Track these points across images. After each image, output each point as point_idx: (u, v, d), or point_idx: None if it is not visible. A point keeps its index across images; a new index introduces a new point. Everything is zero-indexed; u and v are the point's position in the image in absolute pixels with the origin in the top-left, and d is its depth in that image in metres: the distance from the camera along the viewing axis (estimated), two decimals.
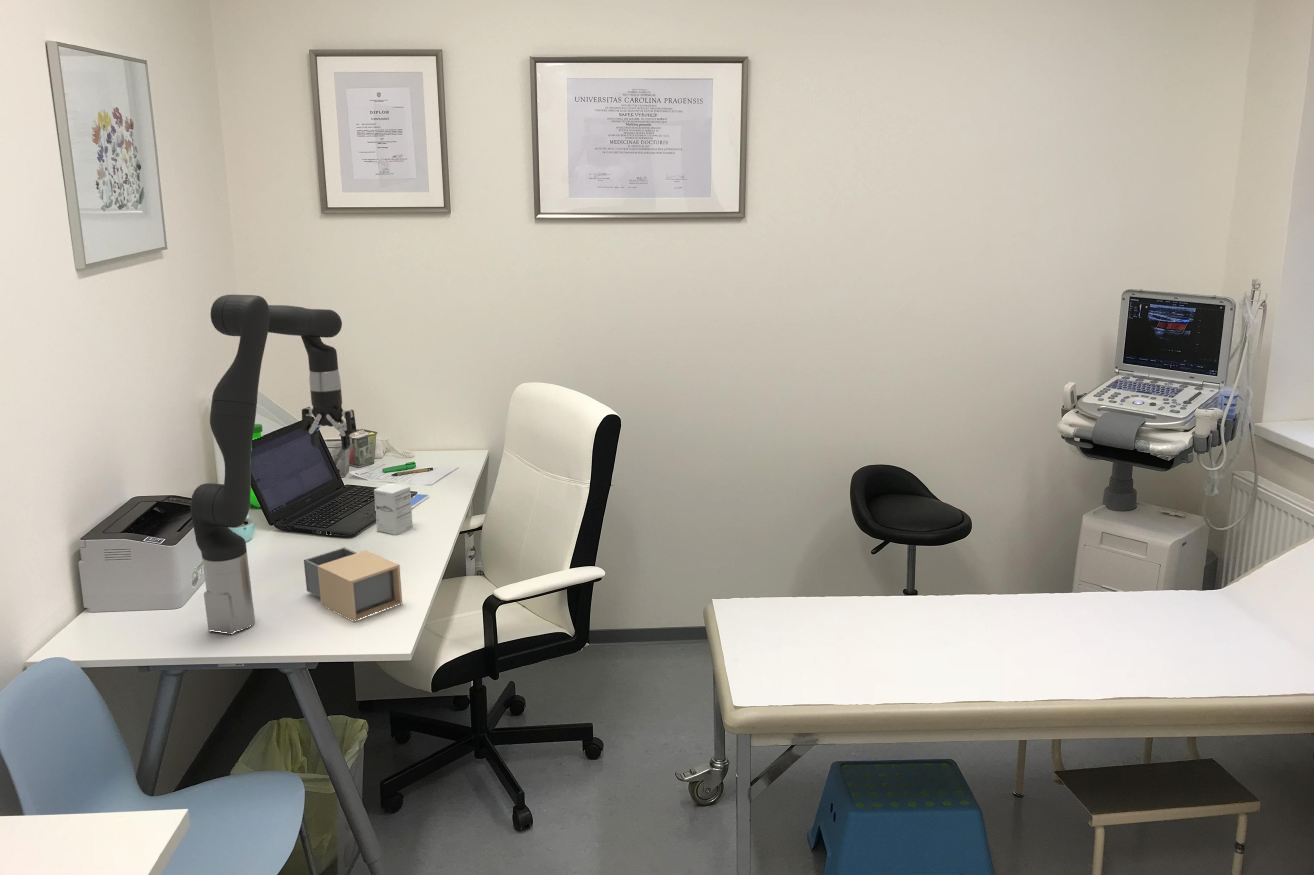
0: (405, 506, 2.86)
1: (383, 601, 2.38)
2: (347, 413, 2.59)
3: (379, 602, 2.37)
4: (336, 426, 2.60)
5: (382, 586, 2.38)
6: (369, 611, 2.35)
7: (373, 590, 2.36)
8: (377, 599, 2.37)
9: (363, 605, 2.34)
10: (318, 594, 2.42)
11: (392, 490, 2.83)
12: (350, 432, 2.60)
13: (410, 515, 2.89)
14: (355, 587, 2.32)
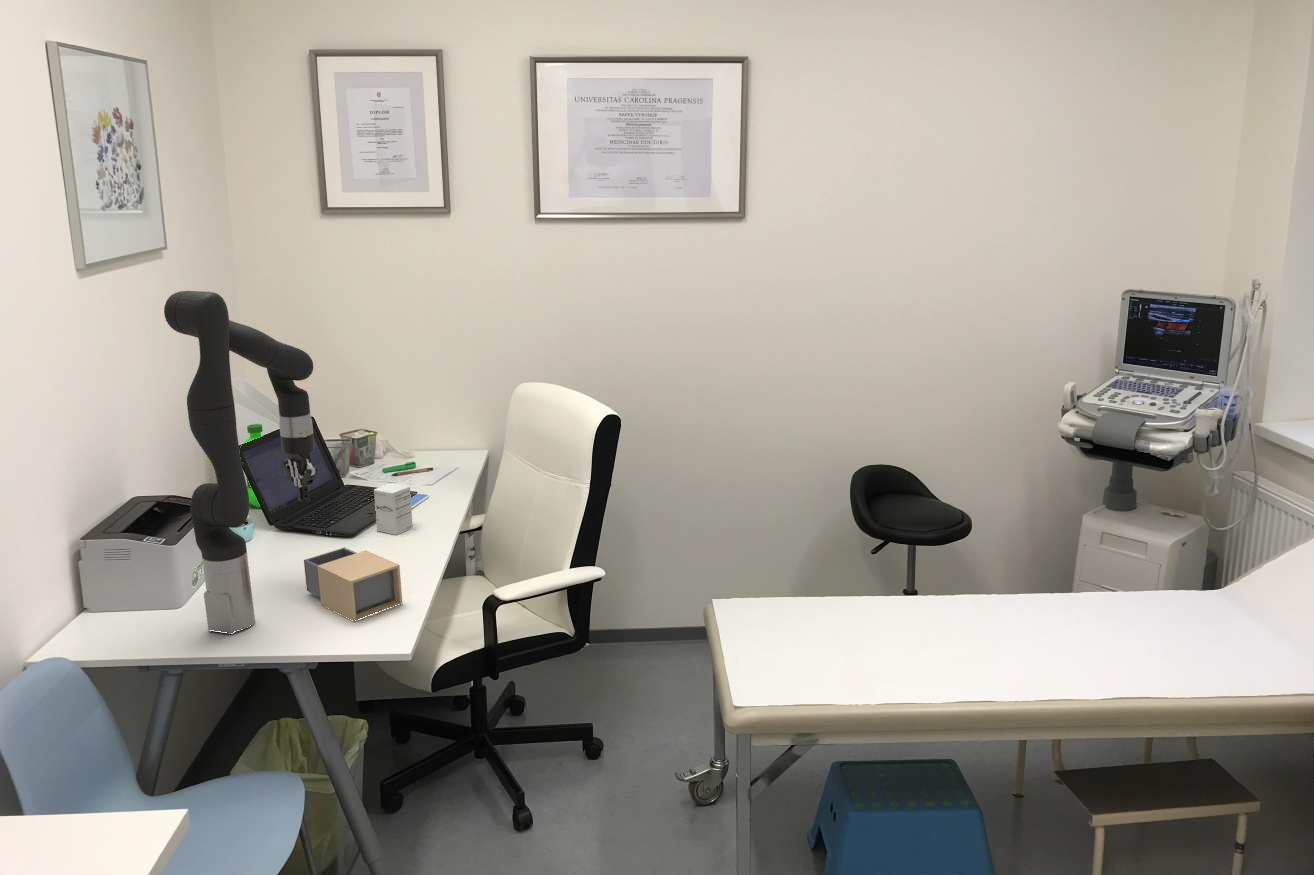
0: (405, 506, 2.86)
1: (383, 601, 2.38)
2: (308, 472, 2.42)
3: (379, 602, 2.37)
4: (296, 476, 2.45)
5: (382, 586, 2.38)
6: (369, 611, 2.35)
7: (373, 590, 2.36)
8: (377, 599, 2.37)
9: (363, 605, 2.34)
10: (318, 594, 2.42)
11: (392, 490, 2.83)
12: (303, 484, 2.45)
13: (410, 515, 2.89)
14: (355, 587, 2.32)
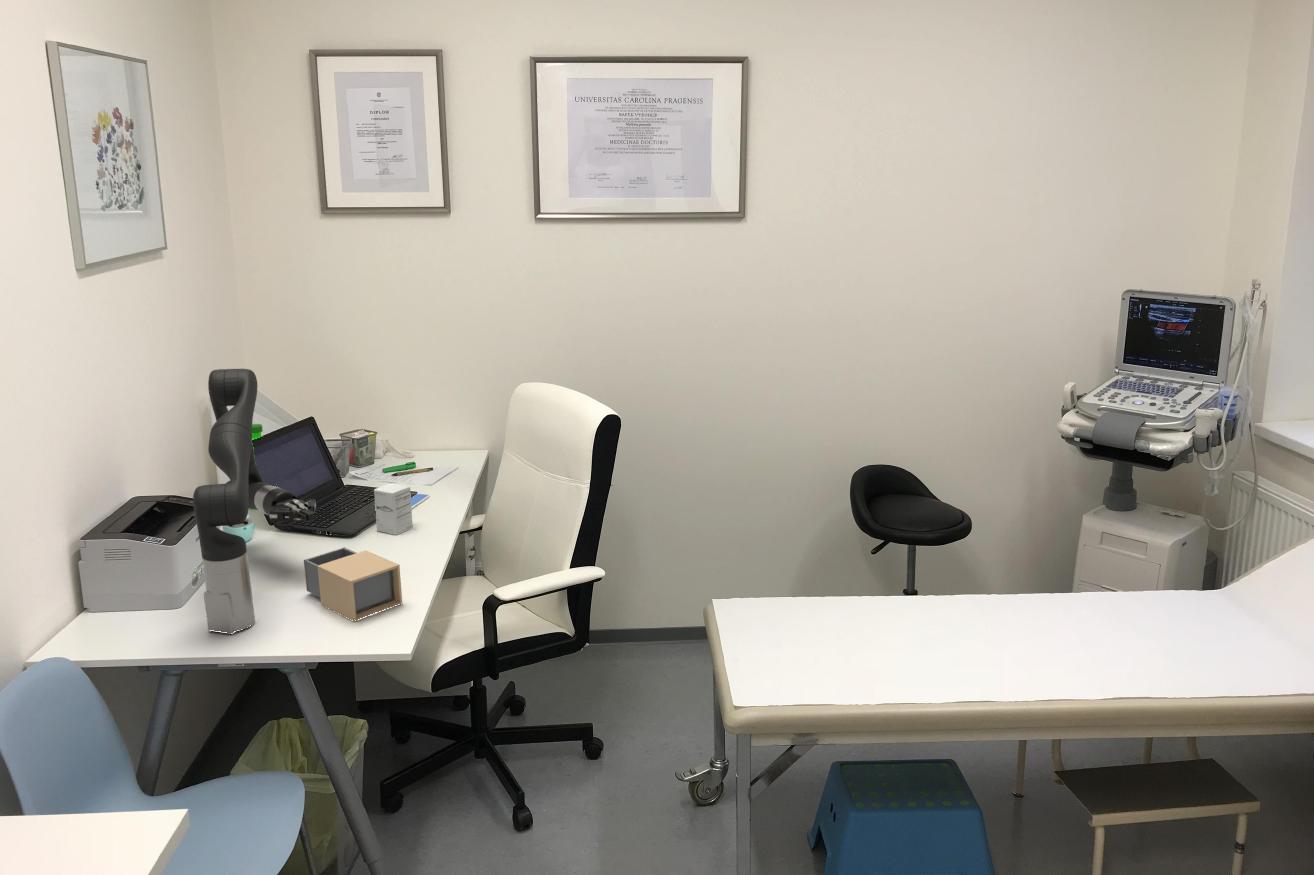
0: (405, 506, 2.86)
1: (383, 601, 2.38)
2: (313, 499, 2.57)
3: (379, 602, 2.37)
4: (299, 504, 2.53)
5: (382, 586, 2.38)
6: (369, 611, 2.35)
7: (373, 590, 2.36)
8: (377, 599, 2.37)
9: (363, 605, 2.34)
10: (318, 594, 2.42)
11: (392, 490, 2.83)
12: (311, 505, 2.53)
13: (410, 515, 2.89)
14: (355, 587, 2.32)
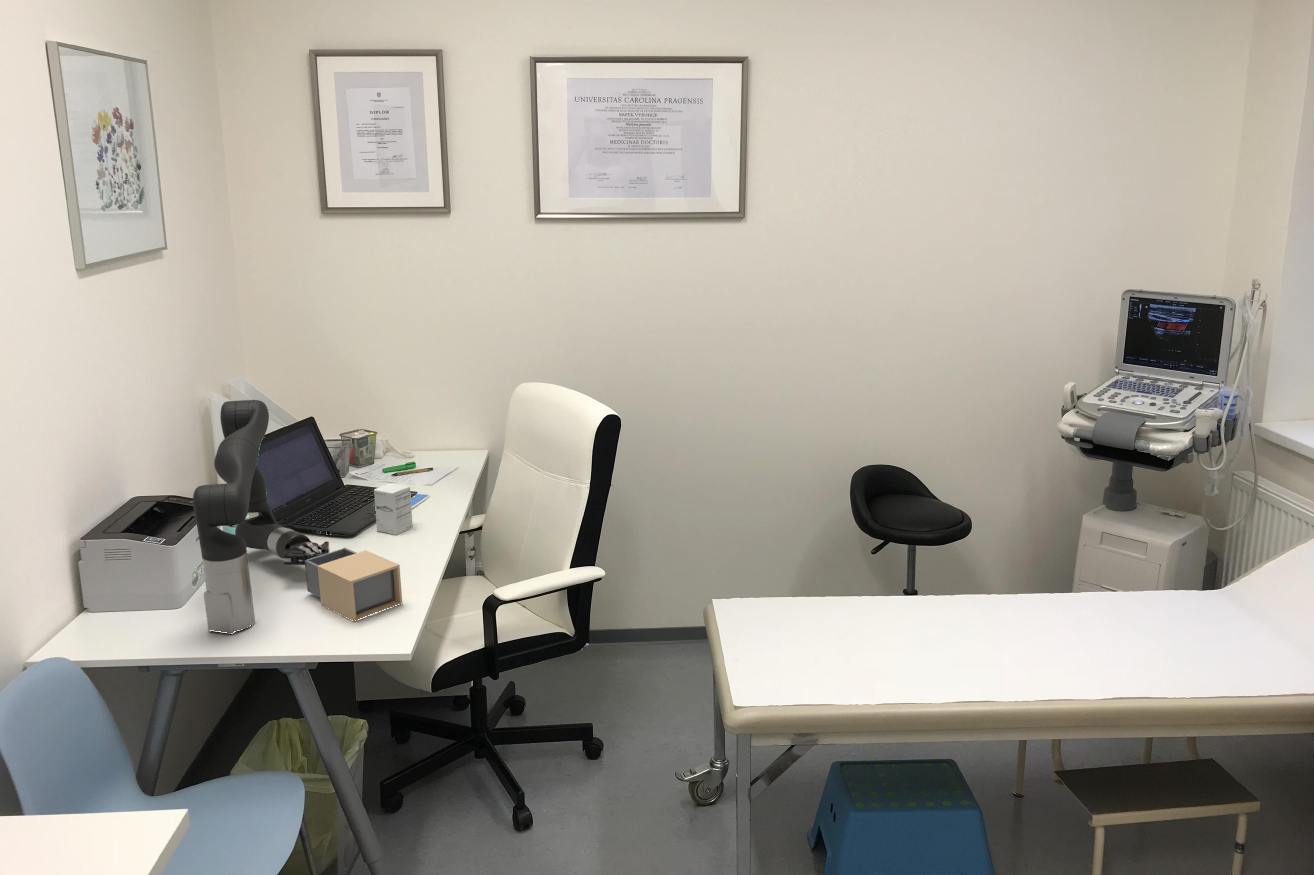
0: (405, 506, 2.86)
1: (384, 601, 2.38)
2: (327, 541, 2.57)
3: (379, 602, 2.37)
4: (313, 547, 2.52)
5: (383, 586, 2.37)
6: (369, 611, 2.35)
7: (374, 590, 2.35)
8: (378, 599, 2.37)
9: (364, 605, 2.34)
10: (319, 594, 2.42)
11: (392, 490, 2.83)
12: (325, 548, 2.52)
13: (410, 515, 2.89)
14: (356, 587, 2.32)
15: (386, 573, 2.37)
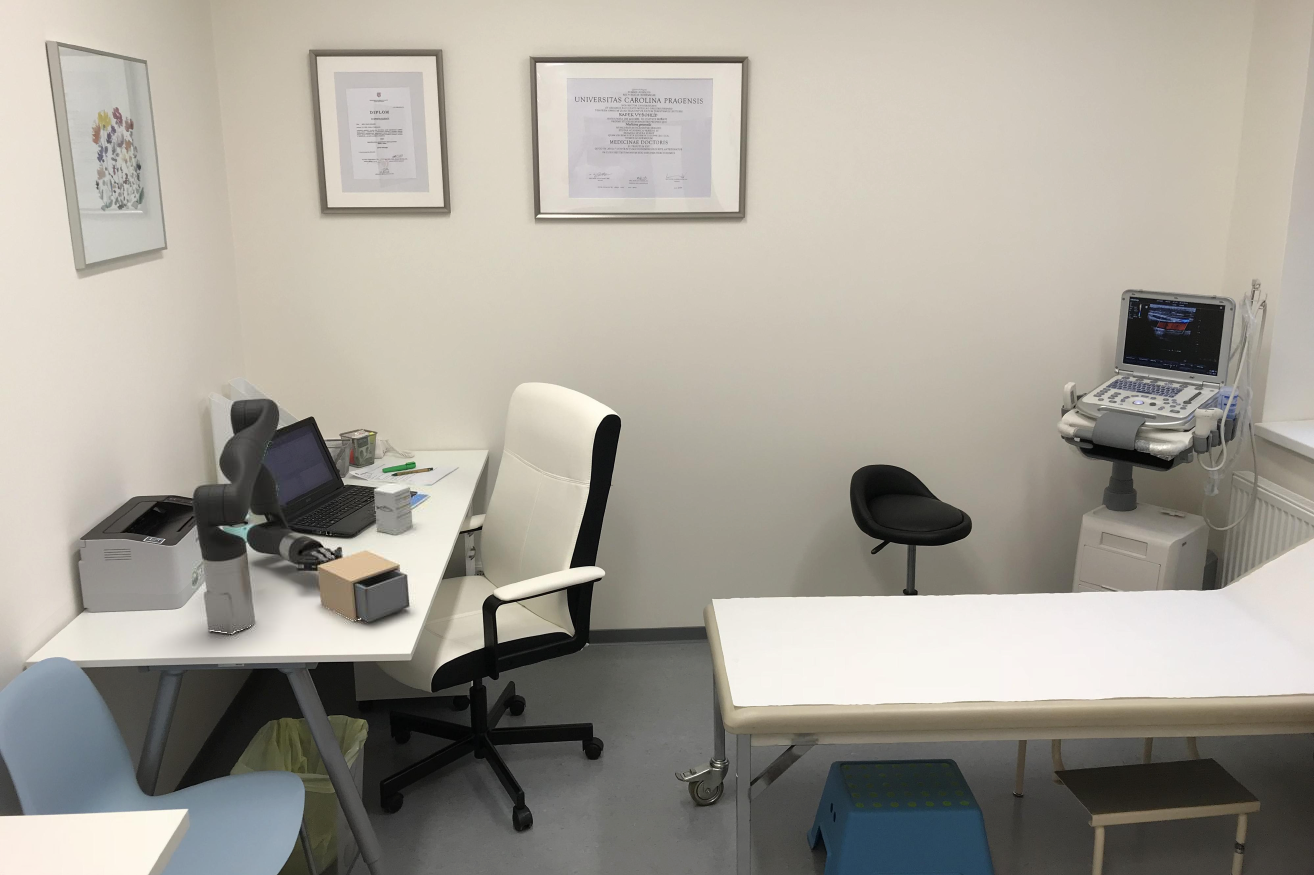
0: (405, 506, 2.86)
1: (399, 609, 2.34)
2: (340, 547, 2.53)
3: (394, 610, 2.33)
4: (326, 553, 2.48)
5: (398, 593, 2.33)
6: None
7: (389, 597, 2.32)
8: (393, 607, 2.33)
9: (379, 613, 2.30)
10: None
11: (392, 490, 2.83)
12: (338, 554, 2.49)
13: (410, 515, 2.89)
14: (371, 595, 2.28)
15: (401, 580, 2.33)
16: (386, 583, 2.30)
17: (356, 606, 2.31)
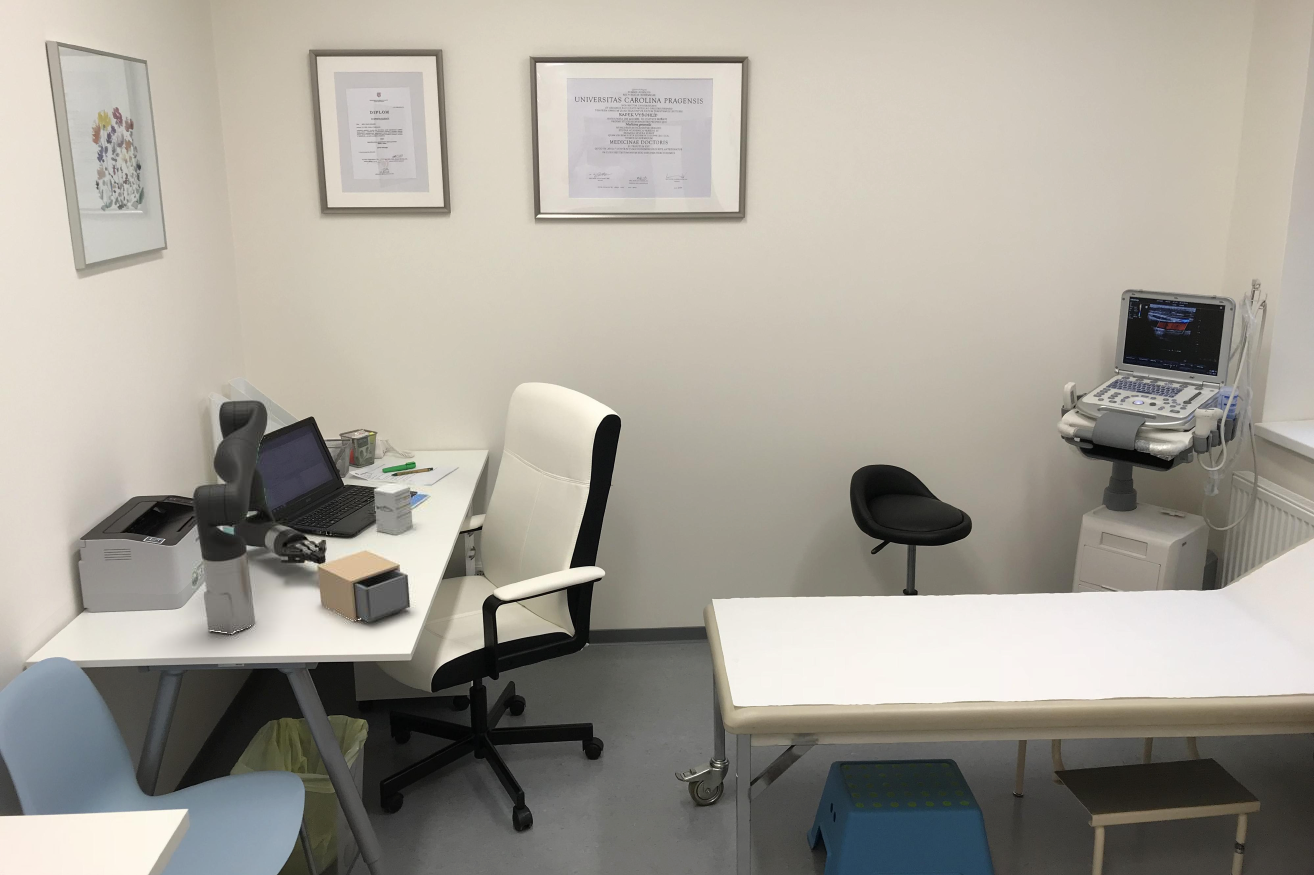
0: (405, 506, 2.86)
1: (399, 609, 2.34)
2: (324, 540, 2.58)
3: (395, 610, 2.33)
4: (310, 545, 2.53)
5: (399, 594, 2.33)
6: None
7: (389, 598, 2.32)
8: (393, 607, 2.33)
9: (379, 613, 2.30)
10: None
11: (392, 490, 2.83)
12: (322, 546, 2.54)
13: (410, 515, 2.89)
14: (371, 595, 2.28)
15: (402, 580, 2.33)
16: (386, 583, 2.30)
17: (356, 606, 2.31)
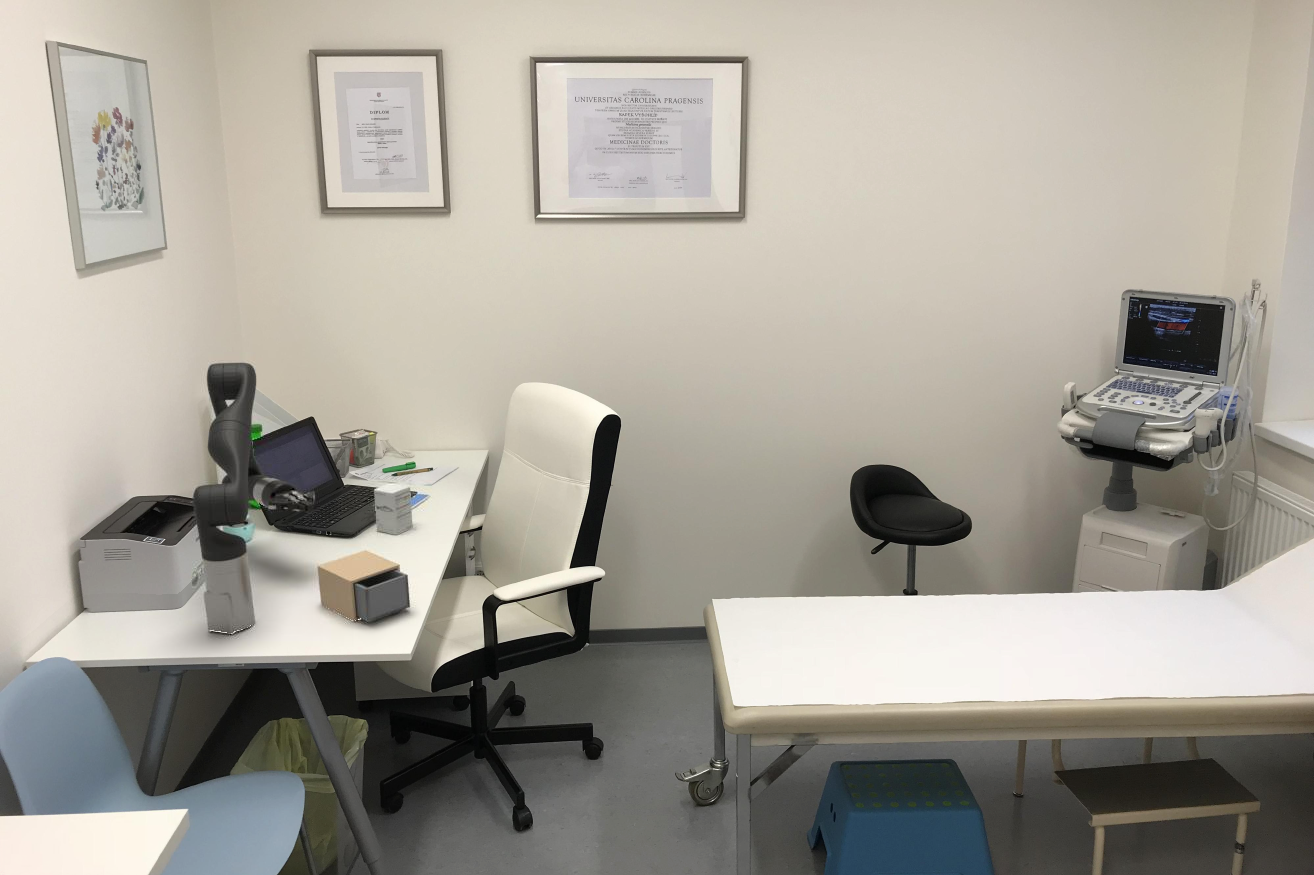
0: (405, 506, 2.86)
1: (399, 609, 2.34)
2: (312, 491, 2.57)
3: (395, 610, 2.33)
4: (298, 495, 2.52)
5: (399, 594, 2.33)
6: None
7: (389, 598, 2.32)
8: (393, 607, 2.33)
9: (379, 613, 2.30)
10: None
11: (392, 490, 2.83)
12: (310, 496, 2.52)
13: (410, 515, 2.89)
14: (371, 595, 2.28)
15: (402, 580, 2.33)
16: (386, 583, 2.30)
17: (356, 606, 2.31)
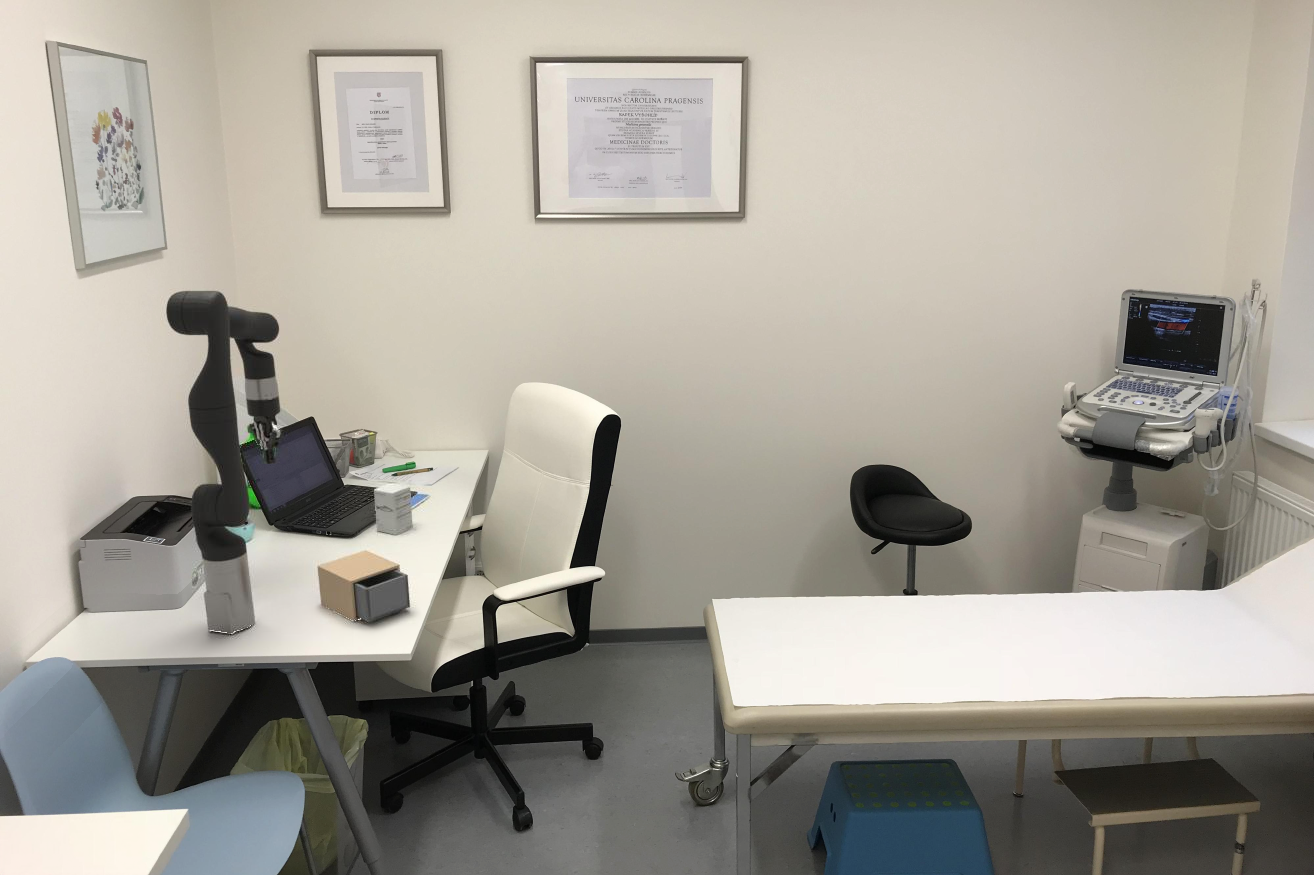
0: (405, 506, 2.86)
1: (399, 609, 2.34)
2: (273, 434, 2.45)
3: (395, 610, 2.33)
4: (262, 438, 2.48)
5: (399, 594, 2.33)
6: None
7: (389, 598, 2.32)
8: (393, 607, 2.33)
9: (379, 613, 2.30)
10: None
11: (392, 490, 2.83)
12: (269, 447, 2.48)
13: (410, 515, 2.89)
14: (371, 595, 2.28)
15: (402, 580, 2.33)
16: (386, 583, 2.30)
17: (356, 606, 2.31)
